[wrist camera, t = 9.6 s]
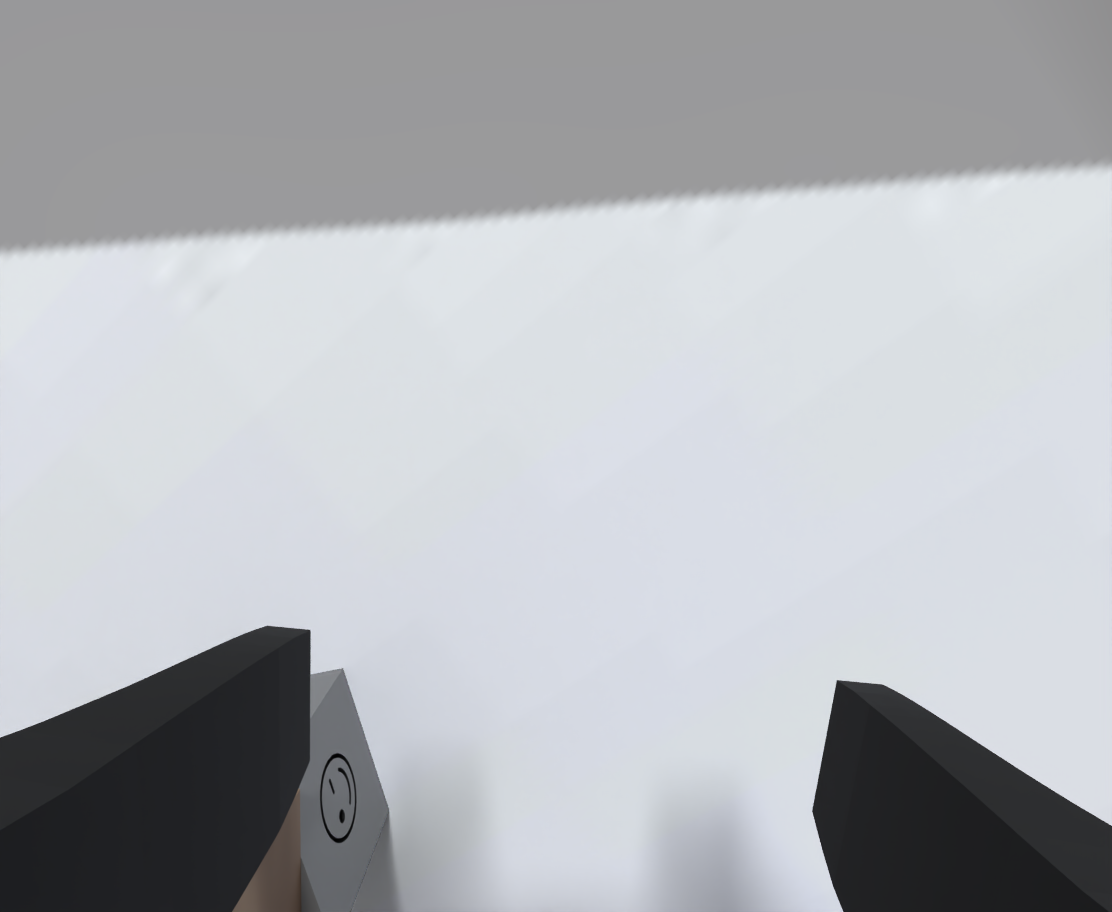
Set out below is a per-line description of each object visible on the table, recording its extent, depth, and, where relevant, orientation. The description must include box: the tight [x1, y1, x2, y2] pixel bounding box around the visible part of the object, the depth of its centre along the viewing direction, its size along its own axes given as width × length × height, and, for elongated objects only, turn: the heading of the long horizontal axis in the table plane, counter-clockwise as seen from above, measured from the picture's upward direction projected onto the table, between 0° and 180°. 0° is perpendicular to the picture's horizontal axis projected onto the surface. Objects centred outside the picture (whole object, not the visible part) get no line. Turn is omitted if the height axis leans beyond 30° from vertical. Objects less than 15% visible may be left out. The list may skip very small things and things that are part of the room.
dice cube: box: [298, 668, 389, 912], centre depth 20 cm, size 5×5×5 cm
